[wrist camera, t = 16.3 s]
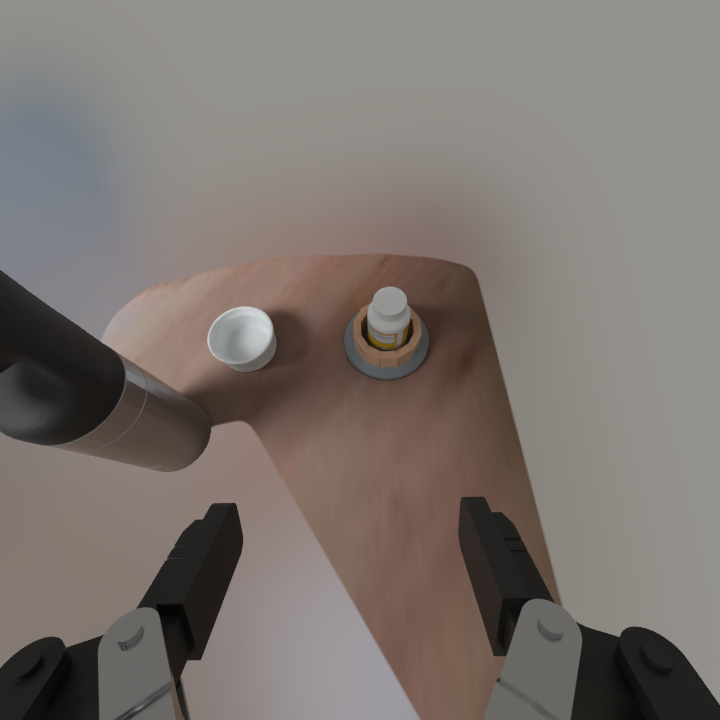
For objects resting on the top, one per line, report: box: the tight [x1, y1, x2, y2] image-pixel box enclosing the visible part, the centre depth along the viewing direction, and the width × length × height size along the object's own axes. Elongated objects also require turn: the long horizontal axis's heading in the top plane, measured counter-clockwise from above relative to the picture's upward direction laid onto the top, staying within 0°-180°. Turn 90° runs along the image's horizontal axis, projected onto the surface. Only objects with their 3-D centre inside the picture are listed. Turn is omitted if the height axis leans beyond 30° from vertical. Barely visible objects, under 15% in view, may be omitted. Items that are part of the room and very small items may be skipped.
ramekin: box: [208, 306, 277, 372], centre depth 48 cm, size 9×9×4 cm
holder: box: [344, 303, 429, 380], centre depth 48 cm, size 12×12×4 cm
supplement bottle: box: [367, 287, 411, 351], centre depth 44 cm, size 5×5×10 cm
